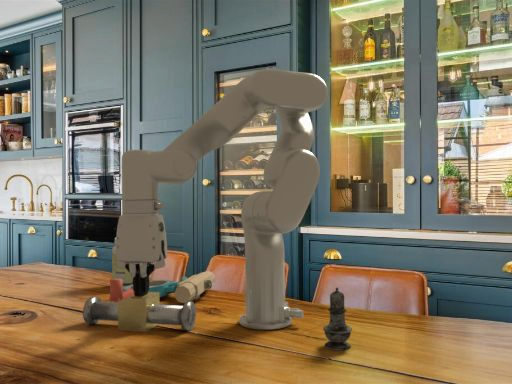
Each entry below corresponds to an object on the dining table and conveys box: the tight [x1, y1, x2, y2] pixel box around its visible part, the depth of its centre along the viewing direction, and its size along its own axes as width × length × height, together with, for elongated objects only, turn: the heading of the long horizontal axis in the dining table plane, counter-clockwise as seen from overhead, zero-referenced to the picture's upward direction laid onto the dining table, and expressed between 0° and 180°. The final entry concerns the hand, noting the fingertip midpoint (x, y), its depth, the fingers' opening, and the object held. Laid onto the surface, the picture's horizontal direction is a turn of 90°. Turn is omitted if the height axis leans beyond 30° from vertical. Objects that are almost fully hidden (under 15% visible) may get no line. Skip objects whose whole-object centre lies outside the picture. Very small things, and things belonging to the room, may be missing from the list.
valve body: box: [82, 292, 197, 333], centre depth 108 cm, size 26×7×8 cm, turn 76°
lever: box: [108, 278, 134, 302], centre depth 104 cm, size 13×4×5 cm, turn 166°
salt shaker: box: [322, 286, 353, 351], centre depth 93 cm, size 6×6×12 cm
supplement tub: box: [111, 237, 151, 288], centre depth 153 cm, size 12×12×17 cm
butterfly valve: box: [123, 270, 216, 304], centre depth 138 cm, size 27×7×30 cm
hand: (141, 294), depth 97 cm, fingers closed
